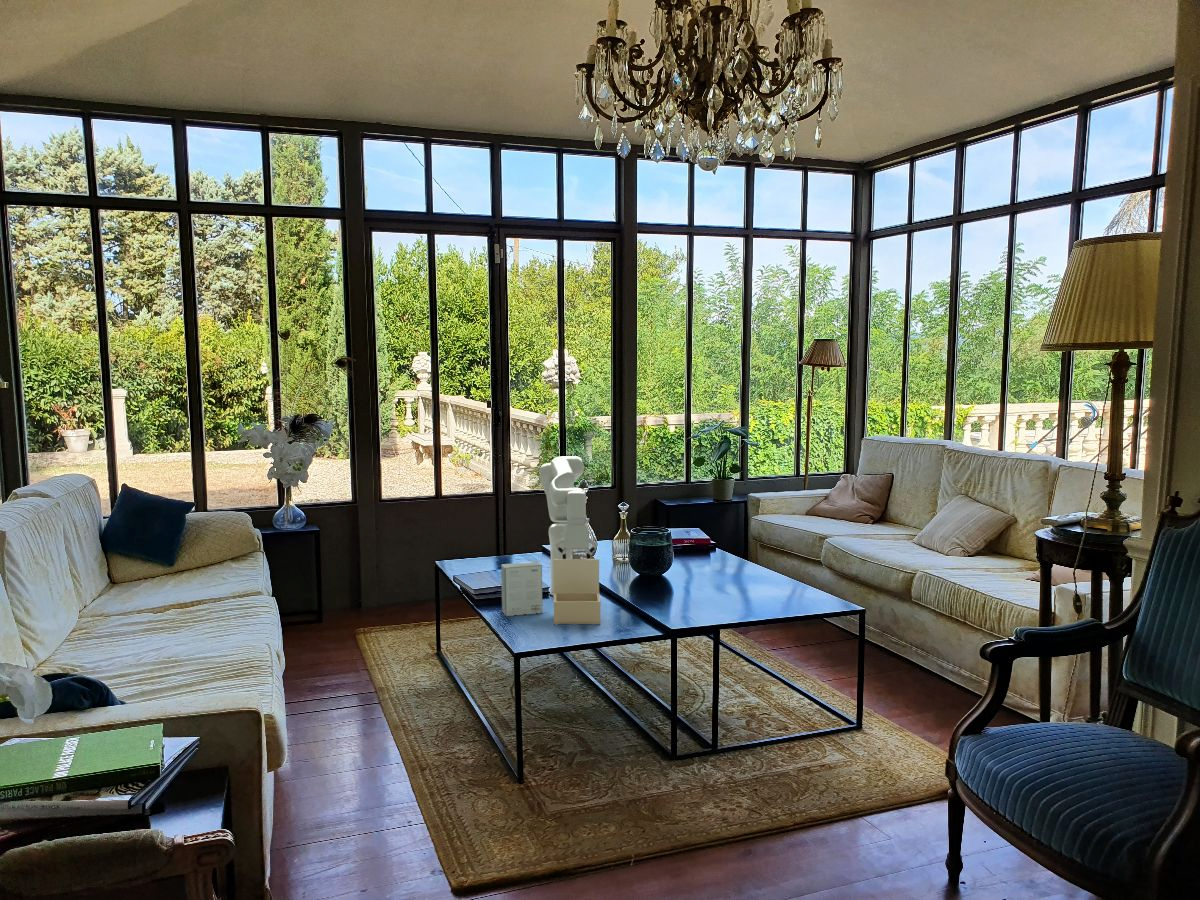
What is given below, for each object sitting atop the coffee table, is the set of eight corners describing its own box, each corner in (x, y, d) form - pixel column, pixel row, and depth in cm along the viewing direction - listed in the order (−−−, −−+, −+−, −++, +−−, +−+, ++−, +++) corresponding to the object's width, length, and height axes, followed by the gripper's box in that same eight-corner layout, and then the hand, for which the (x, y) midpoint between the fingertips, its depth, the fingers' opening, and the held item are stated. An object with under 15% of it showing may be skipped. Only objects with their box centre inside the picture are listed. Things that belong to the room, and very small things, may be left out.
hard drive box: (538, 608, 349) (538, 561, 347) (543, 613, 342) (542, 565, 340) (501, 611, 344) (500, 563, 342) (505, 616, 337) (504, 567, 335)
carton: (554, 615, 339) (554, 593, 339) (598, 614, 340) (599, 592, 340) (553, 625, 326) (553, 602, 325) (600, 624, 326) (600, 601, 326)
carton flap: (554, 593, 339) (554, 586, 346) (599, 592, 340) (598, 585, 347) (553, 559, 336) (554, 553, 343) (599, 559, 337) (598, 552, 344)
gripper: (597, 519, 347) (597, 561, 348) (554, 520, 346) (555, 561, 348) (598, 522, 339) (598, 565, 341) (554, 523, 339) (554, 565, 340)
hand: (576, 563), depth 344 cm, fingers open, 8 cm apart
